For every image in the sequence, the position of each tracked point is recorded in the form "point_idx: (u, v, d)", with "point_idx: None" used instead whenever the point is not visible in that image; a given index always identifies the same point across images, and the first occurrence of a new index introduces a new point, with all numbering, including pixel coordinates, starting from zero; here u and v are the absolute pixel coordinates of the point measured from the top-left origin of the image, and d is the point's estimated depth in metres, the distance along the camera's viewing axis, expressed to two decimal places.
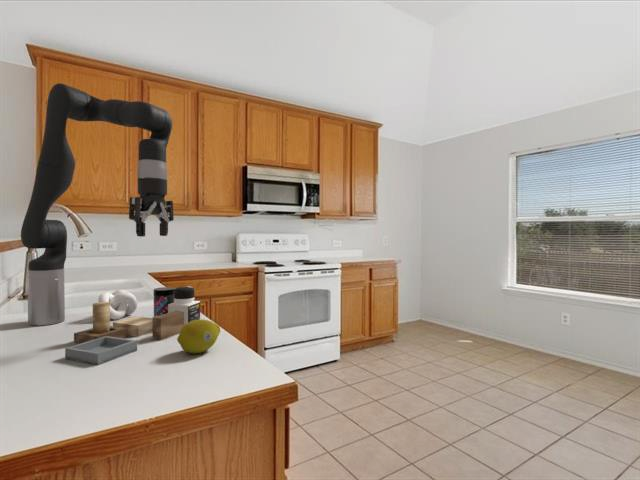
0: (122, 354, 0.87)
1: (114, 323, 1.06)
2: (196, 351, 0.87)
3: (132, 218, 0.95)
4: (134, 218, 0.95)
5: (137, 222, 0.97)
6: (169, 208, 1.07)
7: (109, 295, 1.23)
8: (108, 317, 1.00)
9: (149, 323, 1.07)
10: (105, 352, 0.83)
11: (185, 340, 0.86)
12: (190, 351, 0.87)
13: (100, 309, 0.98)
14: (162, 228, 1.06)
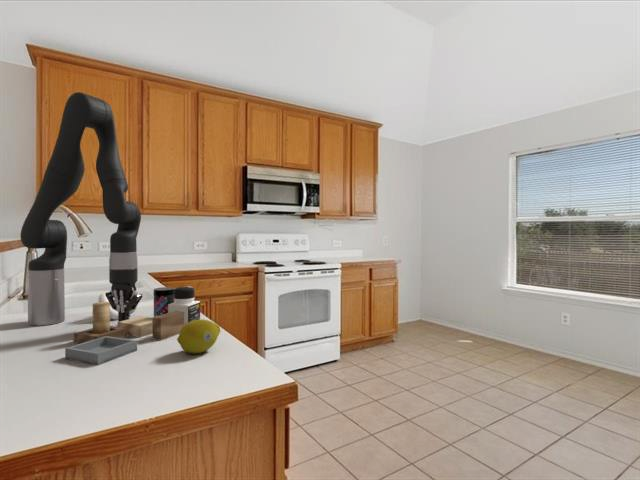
0: (122, 354, 0.87)
1: (119, 323, 1.06)
2: (196, 351, 0.87)
3: (129, 310, 1.09)
4: (132, 309, 1.10)
5: None
6: None
7: None
8: (108, 317, 1.00)
9: None
10: (105, 352, 0.83)
11: (185, 340, 0.86)
12: (190, 351, 0.87)
13: (100, 309, 0.98)
14: None
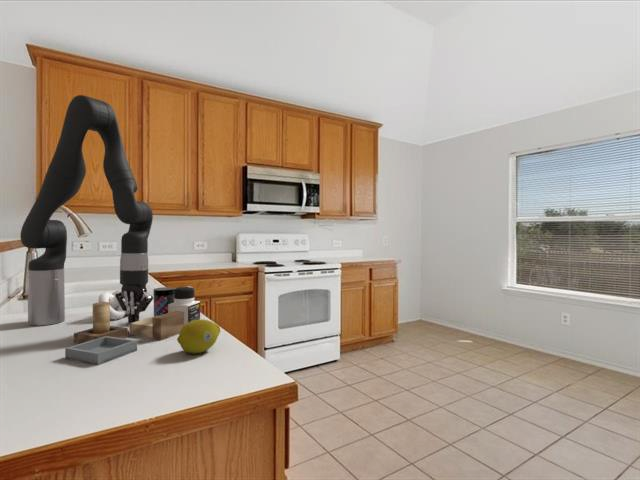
0: (122, 354, 0.87)
1: (131, 324, 1.05)
2: (196, 351, 0.87)
3: (140, 311, 1.07)
4: (142, 310, 1.08)
5: None
6: None
7: (109, 295, 1.23)
8: (108, 317, 1.00)
9: None
10: (105, 352, 0.83)
11: (185, 340, 0.86)
12: (190, 351, 0.87)
13: (100, 309, 0.98)
14: None
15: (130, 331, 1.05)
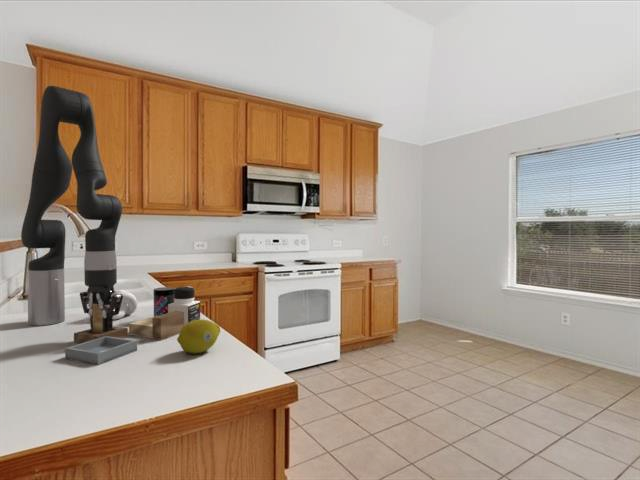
0: (122, 354, 0.87)
1: (130, 324, 1.05)
2: (196, 351, 0.87)
3: (113, 315, 0.98)
4: (115, 314, 0.98)
5: (109, 318, 0.98)
6: None
7: None
8: None
9: None
10: (105, 352, 0.83)
11: (185, 340, 0.86)
12: (190, 351, 0.87)
13: None
14: None
15: (129, 331, 1.05)
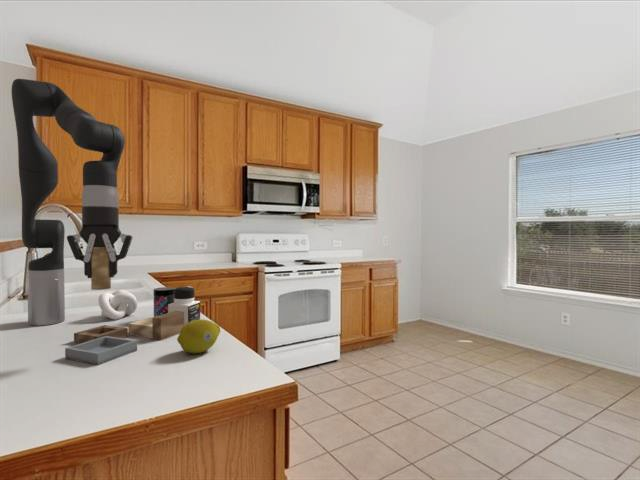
0: (122, 354, 0.87)
1: (130, 324, 1.05)
2: (196, 351, 0.87)
3: (123, 257, 0.89)
4: (124, 257, 0.89)
5: None
6: None
7: (109, 295, 1.23)
8: None
9: None
10: (105, 352, 0.83)
11: (185, 340, 0.86)
12: (190, 351, 0.87)
13: (106, 252, 0.87)
14: None
15: (129, 331, 1.05)
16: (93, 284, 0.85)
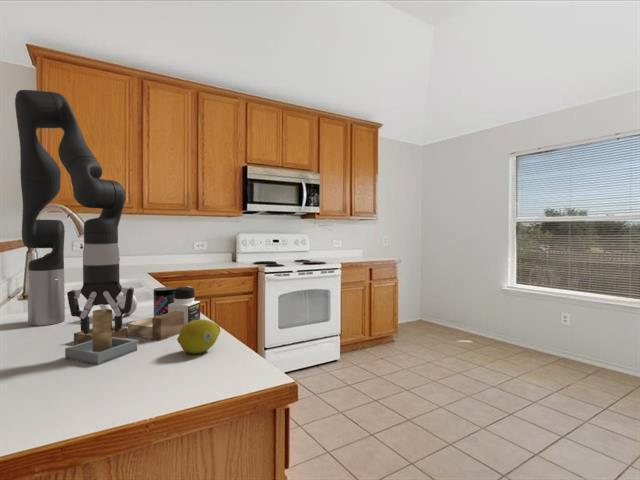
0: (122, 354, 0.87)
1: (129, 324, 1.05)
2: (196, 351, 0.87)
3: (128, 311, 0.89)
4: (129, 310, 0.90)
5: (121, 316, 0.89)
6: (77, 299, 0.87)
7: None
8: None
9: None
10: (105, 352, 0.83)
11: (185, 340, 0.86)
12: (190, 351, 0.87)
13: (108, 317, 0.86)
14: (88, 323, 0.87)
15: (128, 331, 1.05)
16: (94, 349, 0.86)
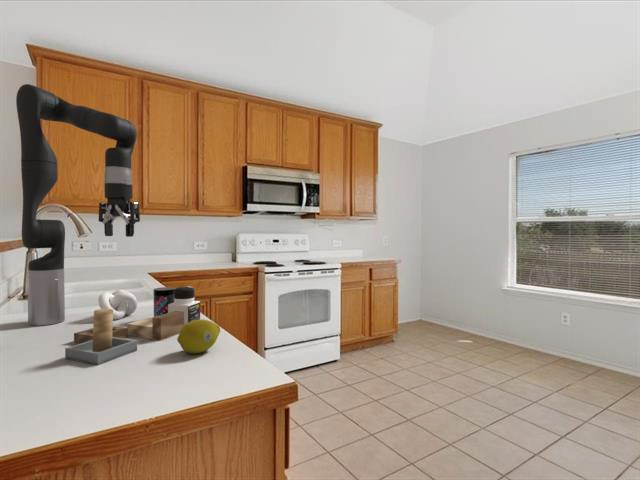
0: (122, 354, 0.87)
1: (128, 324, 1.05)
2: (196, 351, 0.87)
3: (135, 220, 1.09)
4: (137, 220, 1.09)
5: (132, 224, 1.09)
6: (107, 210, 1.14)
7: (109, 295, 1.23)
8: (112, 325, 0.89)
9: None
10: (105, 352, 0.83)
11: (185, 340, 0.86)
12: (190, 351, 0.87)
13: (108, 317, 0.87)
14: (109, 229, 1.13)
15: None
16: (94, 349, 0.86)
